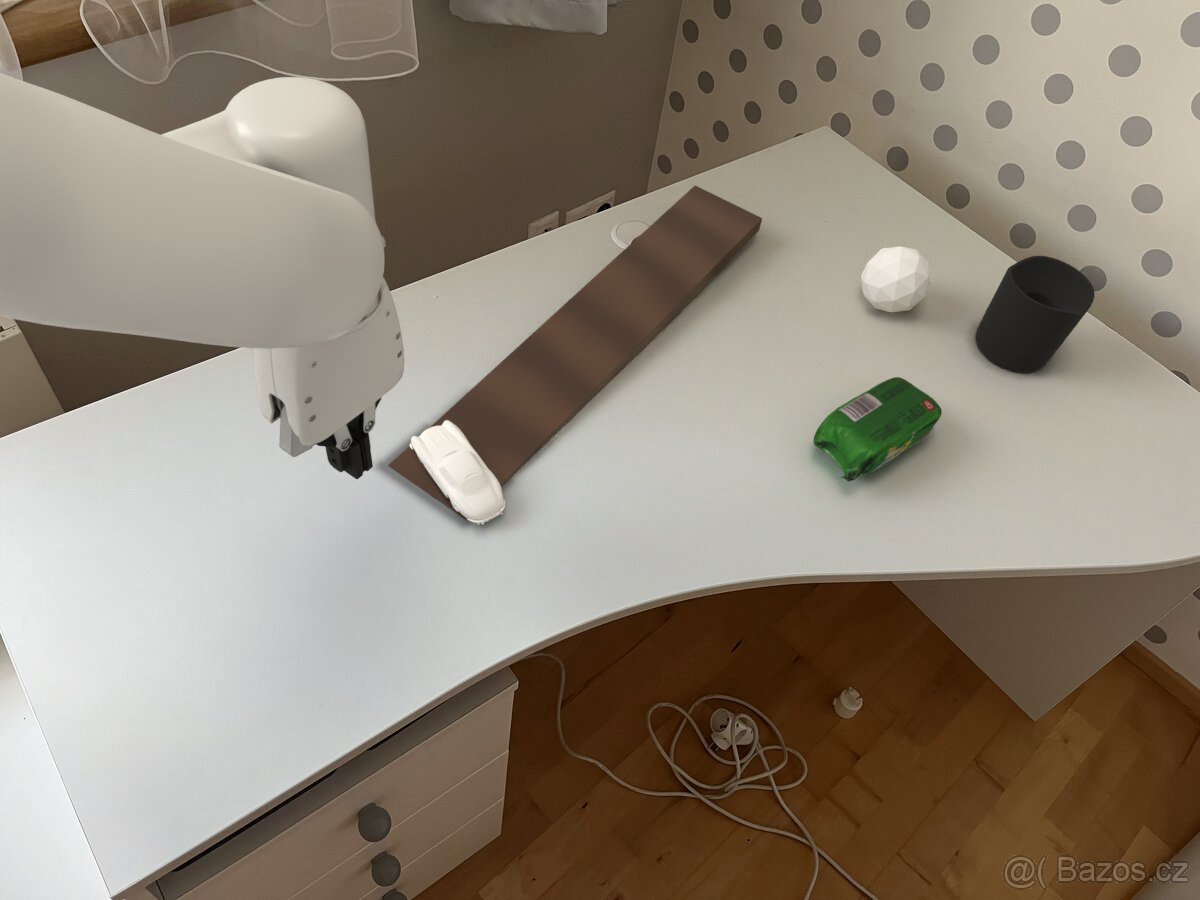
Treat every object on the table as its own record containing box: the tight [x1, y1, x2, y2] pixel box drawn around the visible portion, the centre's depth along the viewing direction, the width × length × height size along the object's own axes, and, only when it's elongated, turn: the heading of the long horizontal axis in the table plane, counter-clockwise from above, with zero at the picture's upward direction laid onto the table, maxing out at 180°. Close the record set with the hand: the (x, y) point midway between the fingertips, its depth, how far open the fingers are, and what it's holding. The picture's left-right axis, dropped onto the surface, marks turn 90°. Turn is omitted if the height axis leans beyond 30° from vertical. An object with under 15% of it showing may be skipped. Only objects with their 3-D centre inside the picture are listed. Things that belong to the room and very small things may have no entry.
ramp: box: [387, 185, 763, 520], centre depth 99 cm, size 56×10×5 cm, turn 144°
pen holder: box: [975, 255, 1096, 373], centre depth 102 cm, size 9×9×10 cm
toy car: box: [409, 420, 506, 526], centre depth 84 cm, size 5×12×4 cm, turn 36°
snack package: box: [813, 376, 943, 482], centre depth 92 cm, size 7×16×5 cm, turn 128°
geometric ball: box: [860, 245, 932, 313], centre depth 106 cm, size 8×8×8 cm
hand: (351, 464), depth 71 cm, fingers closed
